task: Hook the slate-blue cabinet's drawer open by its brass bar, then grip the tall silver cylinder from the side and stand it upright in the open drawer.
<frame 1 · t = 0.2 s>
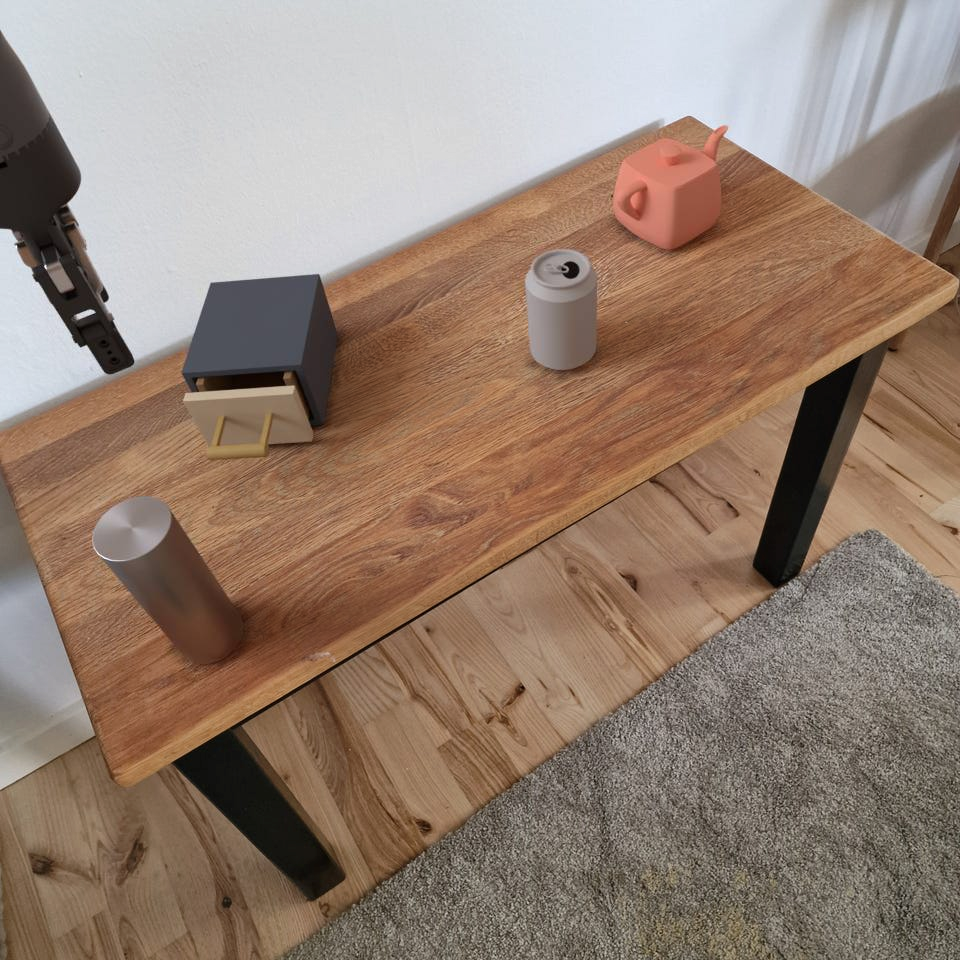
hand: (108, 334, 61), 27 cm above the table, tool pointing down, fingers open, 8 cm apart
can: (563, 353, 94), on the table
drawer: (255, 394, 88), point 5 cm above the table, slide at 2.0 cm
cylinder: (211, 634, 75), on the table
cabinet: (277, 381, 95), on the table
teapot: (668, 223, 107), on the table
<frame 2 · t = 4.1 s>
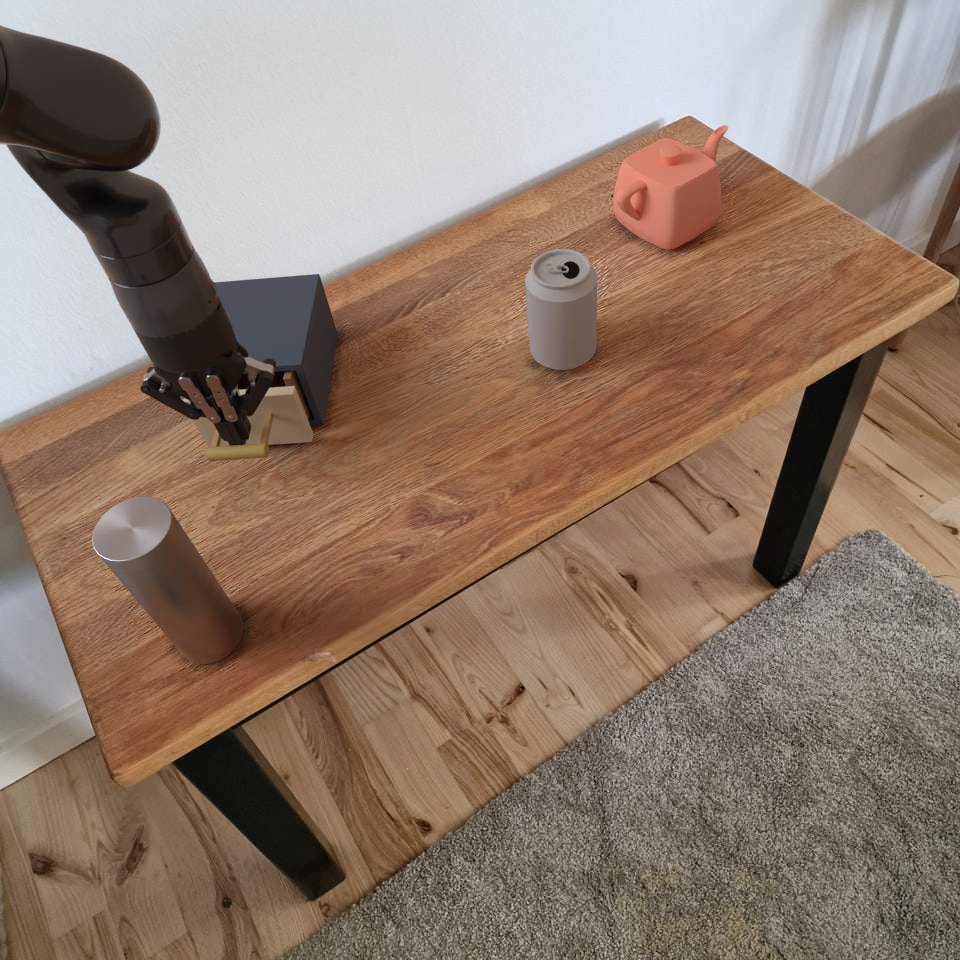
hand: (240, 438, 83), 6 cm above the table, tool pointing down, fingers closed
drawer: (255, 394, 88), point 5 cm above the table, slide at 2.1 cm, touching gripper
everything else where it was.
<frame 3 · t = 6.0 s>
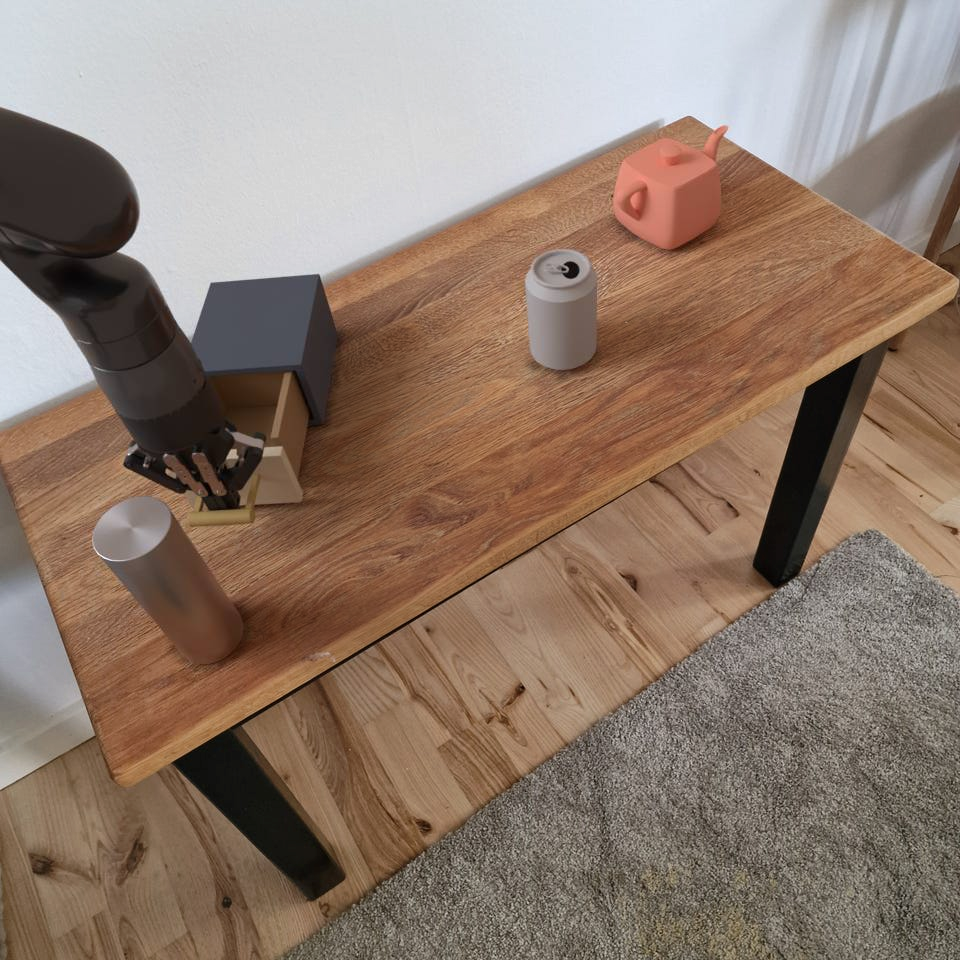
hand: (229, 510, 79), 4 cm above the table, tool pointing down, fingers closed
drawer: (242, 451, 83), point 5 cm above the table, slide at 10.1 cm
everything else where it was.
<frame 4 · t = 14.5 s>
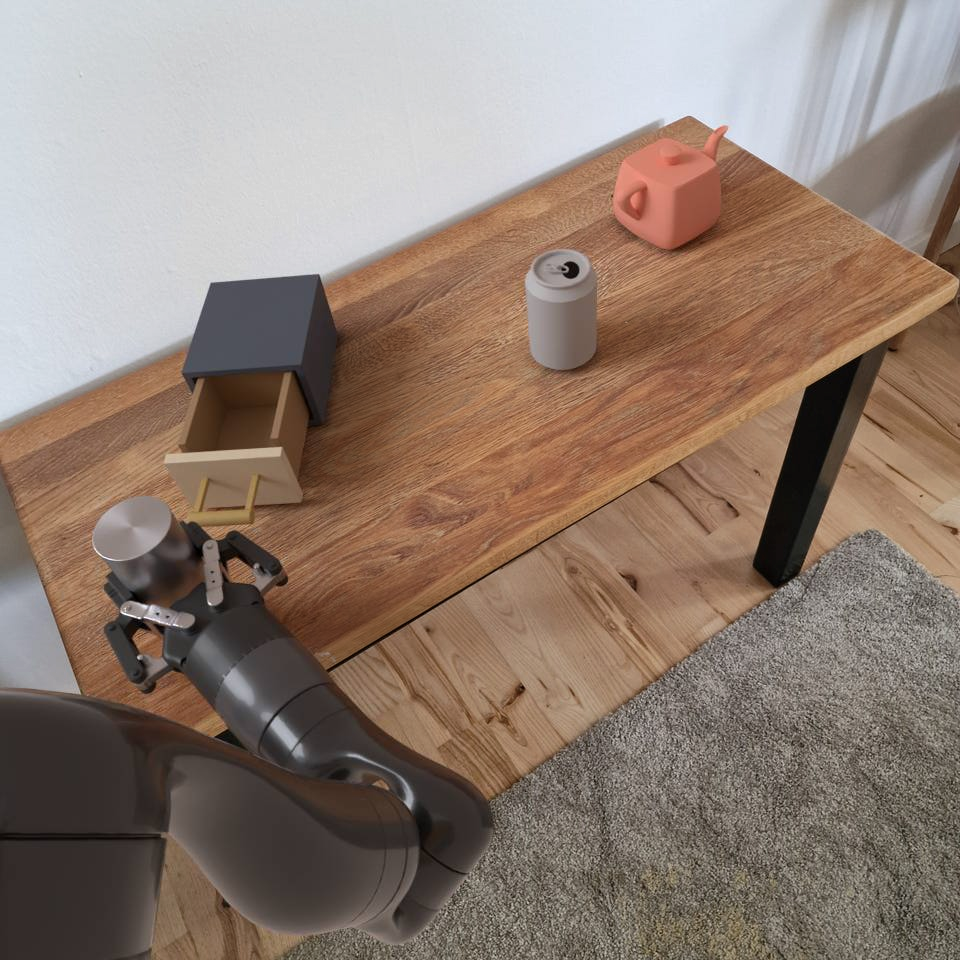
hand: (148, 553, 68), 11 cm above the table, tool horizontal, fingers closed on cylinder, 6 cm apart
cylinder: (211, 634, 75), on the table, touching gripper
everything else where it was.
when the fingers open (13 cm above the table, at t = 22.3 s): cylinder stays where it is, resting on drawer.
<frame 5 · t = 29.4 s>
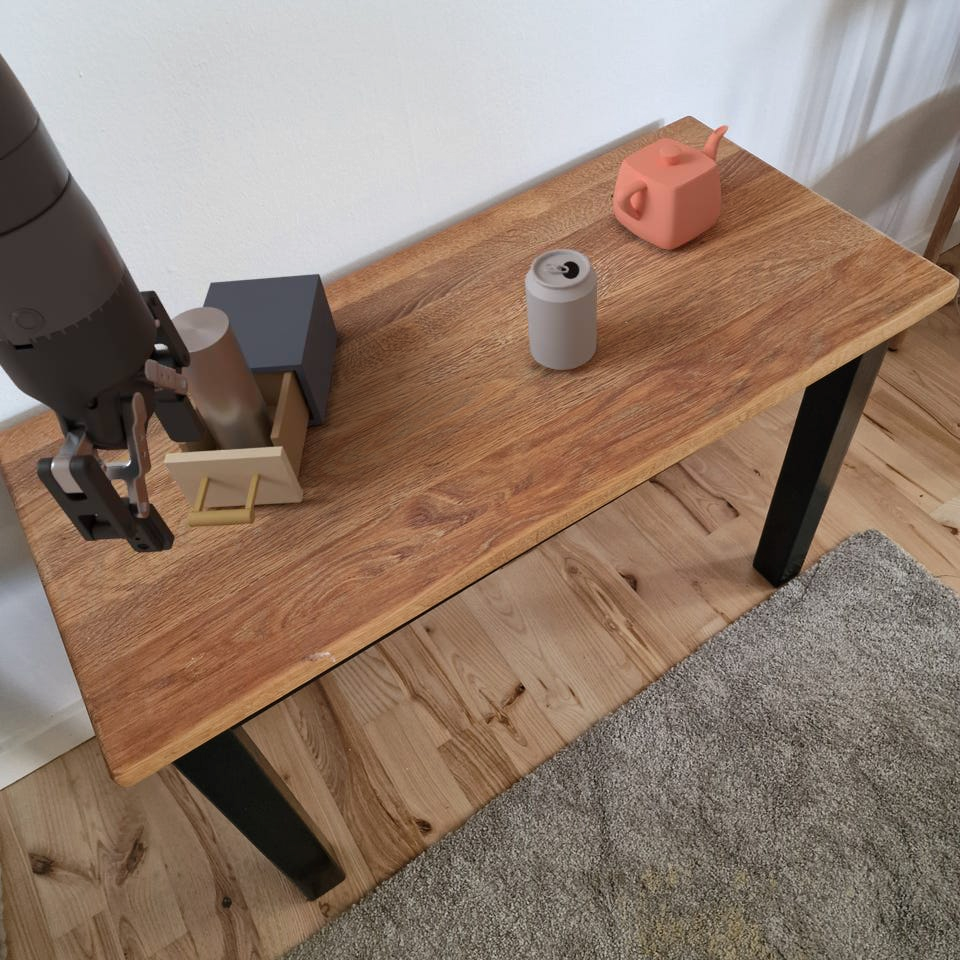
hand: (174, 489, 52), 26 cm above the table, tool pointing down, fingers open, 8 cm apart
drawer: (242, 451, 83), point 5 cm above the table, slide at 10.1 cm, touching cylinder
cylinder: (255, 452, 86), point 2 cm above the table, touching drawer
everything else where it was.
at the end: drawer slide at 10.1 cm; cylinder inside the target area in the drawer (0.3 cm from its centre), point 2.0 cm above the cabinet's base; cylinder tilted 0° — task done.
